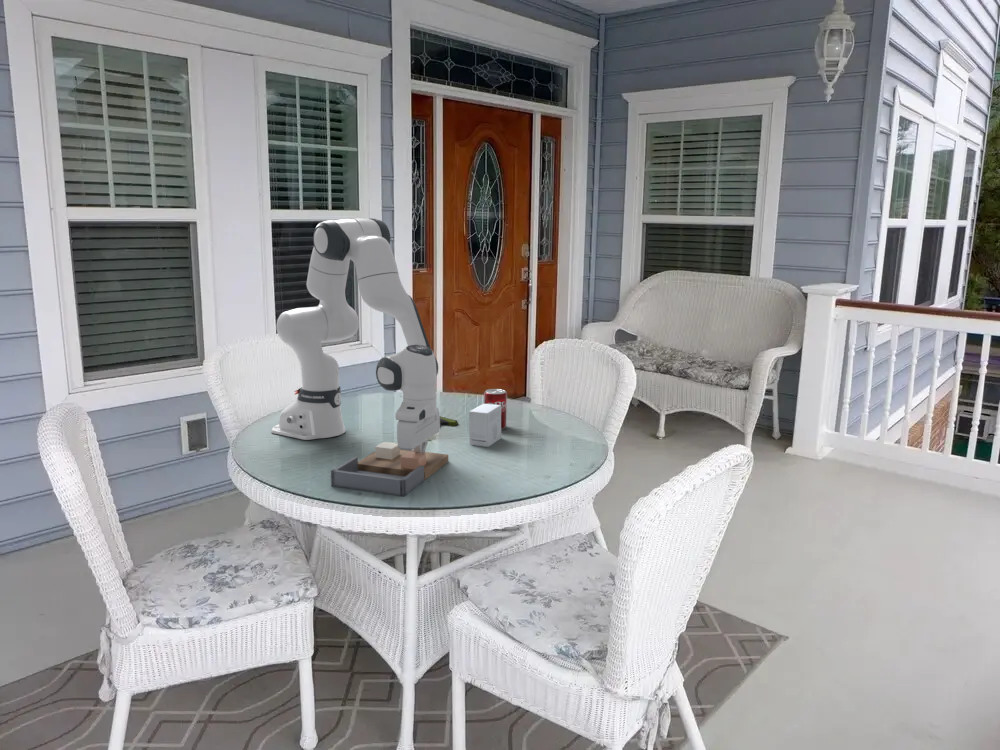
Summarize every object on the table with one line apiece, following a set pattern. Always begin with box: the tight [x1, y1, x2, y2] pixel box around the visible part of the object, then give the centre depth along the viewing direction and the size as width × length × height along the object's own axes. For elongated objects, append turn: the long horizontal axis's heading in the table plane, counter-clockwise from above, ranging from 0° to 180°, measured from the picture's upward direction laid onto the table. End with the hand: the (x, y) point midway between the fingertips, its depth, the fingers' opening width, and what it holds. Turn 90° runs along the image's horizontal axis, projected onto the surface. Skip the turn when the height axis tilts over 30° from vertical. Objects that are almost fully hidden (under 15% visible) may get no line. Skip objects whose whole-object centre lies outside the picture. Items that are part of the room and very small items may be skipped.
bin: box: [330, 456, 425, 497], centre depth 196 cm, size 20×12×4 cm, turn 72°
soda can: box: [483, 388, 508, 431], centre depth 248 cm, size 7×7×12 cm
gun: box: [439, 415, 459, 427], centre depth 253 cm, size 2×19×15 cm
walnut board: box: [358, 449, 449, 481], centre depth 210 cm, size 20×16×2 cm
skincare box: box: [468, 403, 502, 448], centre depth 233 cm, size 10×6×10 cm, turn 157°
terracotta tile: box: [401, 452, 426, 470], centre depth 204 cm, size 5×5×3 cm
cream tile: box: [374, 441, 400, 459], centre depth 212 cm, size 5×5×3 cm
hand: (420, 457), depth 208 cm, fingers closed
